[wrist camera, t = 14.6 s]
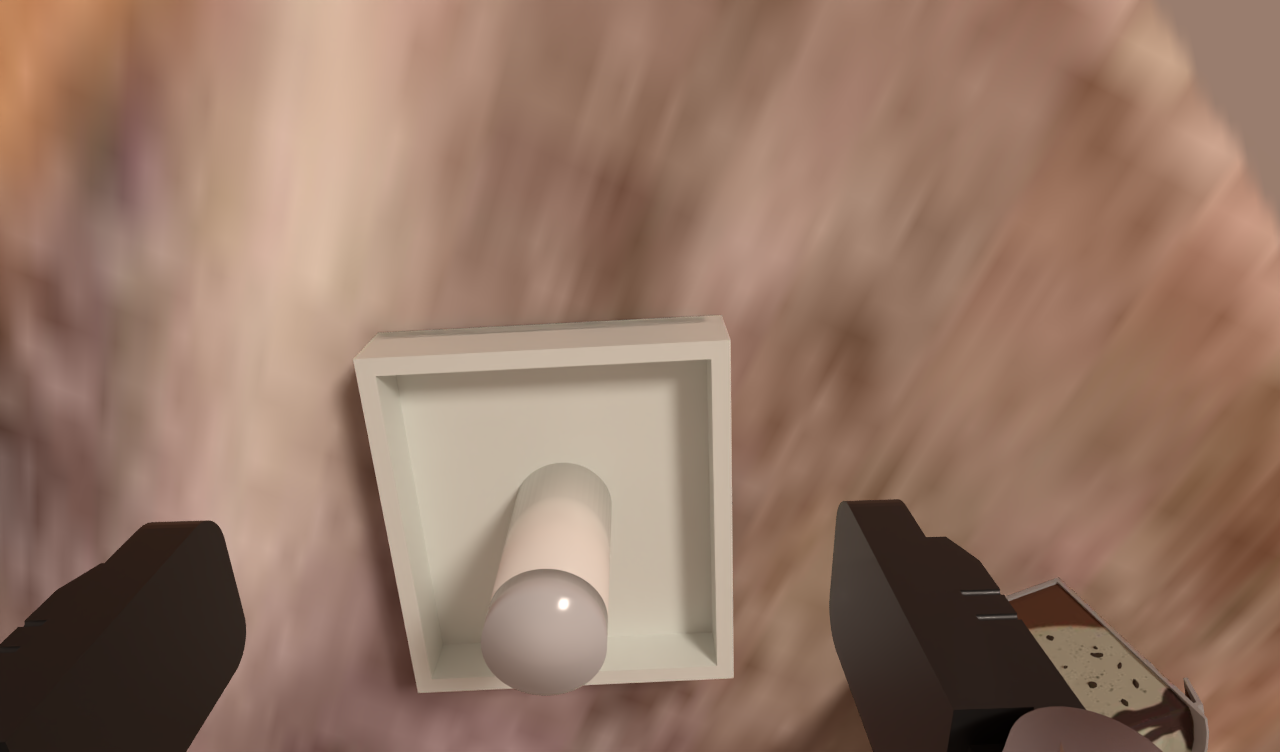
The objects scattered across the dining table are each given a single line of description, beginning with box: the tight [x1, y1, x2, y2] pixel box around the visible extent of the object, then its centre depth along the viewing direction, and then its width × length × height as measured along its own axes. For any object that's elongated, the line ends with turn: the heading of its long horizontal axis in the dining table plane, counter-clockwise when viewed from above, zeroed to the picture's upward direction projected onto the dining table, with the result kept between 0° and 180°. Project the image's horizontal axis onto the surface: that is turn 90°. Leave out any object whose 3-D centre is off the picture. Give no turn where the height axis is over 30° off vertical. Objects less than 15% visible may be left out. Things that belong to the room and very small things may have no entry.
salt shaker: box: [481, 463, 612, 696], centre depth 34 cm, size 5×5×10 cm
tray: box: [353, 315, 734, 693], centre depth 38 cm, size 16×18×4 cm
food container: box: [1006, 577, 1209, 752], centre depth 38 cm, size 12×6×10 cm, turn 115°
